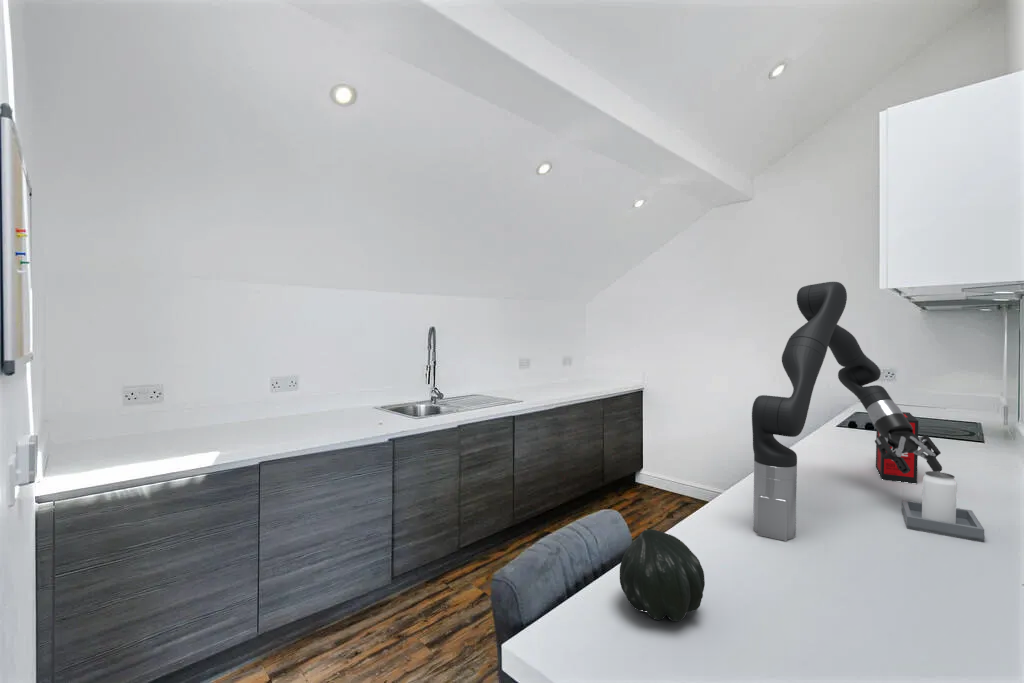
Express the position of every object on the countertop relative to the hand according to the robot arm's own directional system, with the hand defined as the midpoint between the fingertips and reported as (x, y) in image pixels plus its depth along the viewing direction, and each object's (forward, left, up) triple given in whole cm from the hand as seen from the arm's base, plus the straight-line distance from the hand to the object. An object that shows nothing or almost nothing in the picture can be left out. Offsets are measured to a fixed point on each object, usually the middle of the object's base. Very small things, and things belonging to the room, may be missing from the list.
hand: (923, 471), depth 129 cm
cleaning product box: (+41, +3, -12) cm, 43 cm away
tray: (-4, -3, -12) cm, 13 cm away
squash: (-78, +44, -12) cm, 91 cm away
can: (-4, -3, -11) cm, 12 cm away
